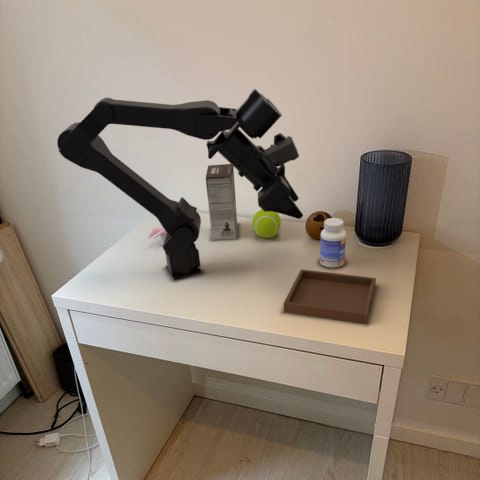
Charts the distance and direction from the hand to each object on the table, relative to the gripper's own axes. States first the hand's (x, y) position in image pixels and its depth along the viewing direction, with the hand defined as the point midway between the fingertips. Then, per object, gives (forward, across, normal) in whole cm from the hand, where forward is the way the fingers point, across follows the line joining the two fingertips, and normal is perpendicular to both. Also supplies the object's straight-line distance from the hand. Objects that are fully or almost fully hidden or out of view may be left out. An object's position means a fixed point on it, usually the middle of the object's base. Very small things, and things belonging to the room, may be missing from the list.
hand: (299, 208), depth 100 cm
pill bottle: (+15, 0, +4) cm, 15 cm away
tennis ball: (+5, +15, +14) cm, 21 cm away
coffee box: (-2, +19, +22) cm, 29 cm away
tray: (+13, -15, +6) cm, 20 cm away
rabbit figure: (-12, +18, +32) cm, 38 cm away
